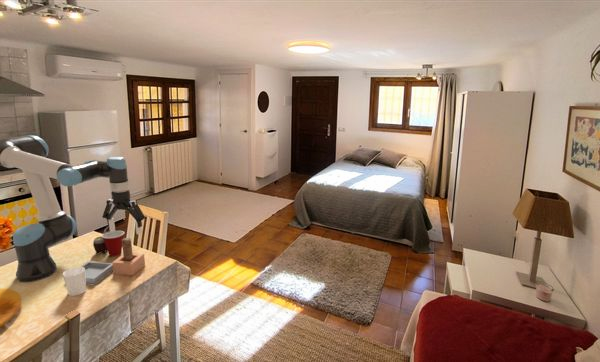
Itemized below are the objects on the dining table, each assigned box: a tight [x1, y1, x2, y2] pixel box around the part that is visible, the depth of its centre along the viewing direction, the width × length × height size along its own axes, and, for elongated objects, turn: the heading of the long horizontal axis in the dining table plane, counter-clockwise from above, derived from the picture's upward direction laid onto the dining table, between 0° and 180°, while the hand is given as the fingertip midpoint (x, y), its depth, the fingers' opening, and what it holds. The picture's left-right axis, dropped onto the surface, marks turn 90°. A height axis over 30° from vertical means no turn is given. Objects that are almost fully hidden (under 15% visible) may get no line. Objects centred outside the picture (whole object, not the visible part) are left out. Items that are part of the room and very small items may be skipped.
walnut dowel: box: [122, 237, 134, 262], centre depth 158 cm, size 4×4×16 cm
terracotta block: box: [111, 252, 146, 276], centre depth 159 cm, size 10×10×6 cm
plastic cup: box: [100, 230, 125, 257], centre depth 173 cm, size 11×11×12 cm
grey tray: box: [79, 260, 114, 285], centre depth 154 cm, size 14×14×3 cm
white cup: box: [62, 266, 87, 297], centre depth 140 cm, size 8×8×10 cm
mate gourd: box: [92, 225, 109, 255], centre depth 174 cm, size 8×8×15 cm
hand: (125, 232), depth 155 cm, fingers open, 13 cm apart
